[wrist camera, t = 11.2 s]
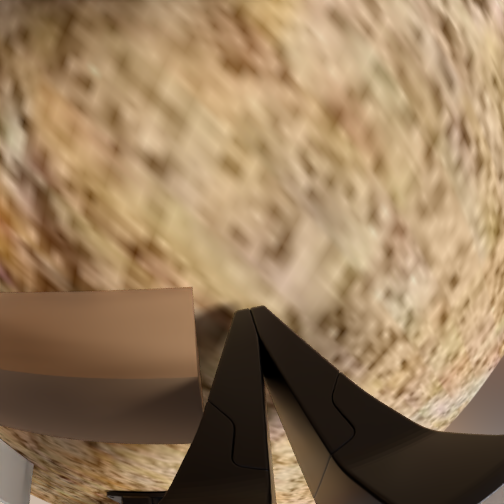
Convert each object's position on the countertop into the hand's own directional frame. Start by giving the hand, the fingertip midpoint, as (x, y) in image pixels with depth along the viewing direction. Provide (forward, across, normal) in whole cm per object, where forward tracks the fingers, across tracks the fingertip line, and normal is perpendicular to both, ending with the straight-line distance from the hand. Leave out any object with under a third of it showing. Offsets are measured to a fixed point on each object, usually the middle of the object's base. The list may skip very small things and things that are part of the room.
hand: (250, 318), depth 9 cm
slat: (+1, +9, 0) cm, 9 cm away
